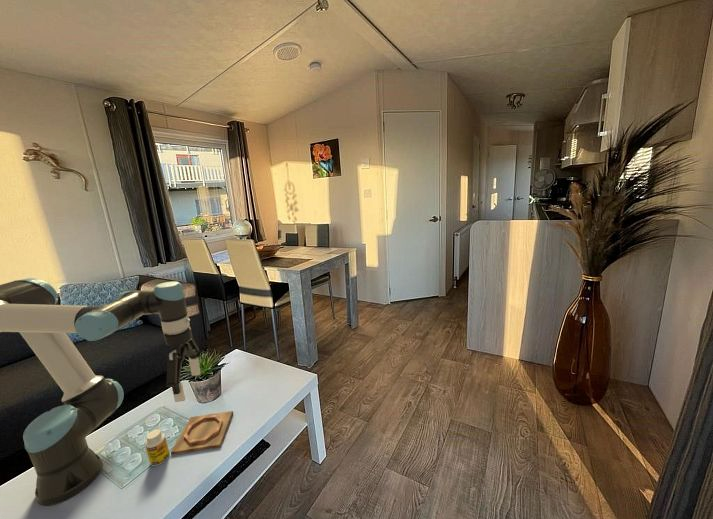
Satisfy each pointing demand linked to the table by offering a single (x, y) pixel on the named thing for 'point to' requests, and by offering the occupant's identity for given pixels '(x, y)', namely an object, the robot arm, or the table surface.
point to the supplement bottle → (157, 447)
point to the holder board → (203, 433)
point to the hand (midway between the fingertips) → (188, 387)
